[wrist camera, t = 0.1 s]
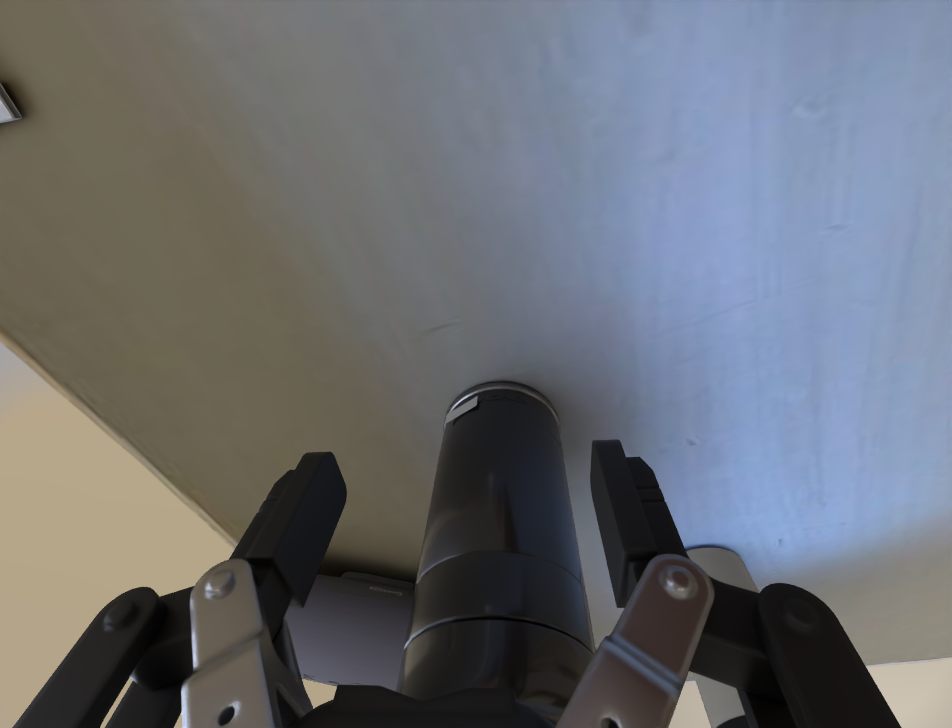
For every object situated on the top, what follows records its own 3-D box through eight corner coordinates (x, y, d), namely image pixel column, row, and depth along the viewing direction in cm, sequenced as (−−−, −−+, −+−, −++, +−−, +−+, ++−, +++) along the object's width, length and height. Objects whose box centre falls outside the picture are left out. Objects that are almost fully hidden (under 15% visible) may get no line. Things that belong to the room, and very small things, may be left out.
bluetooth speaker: (287, 587, 49) (242, 687, 41) (289, 541, 44) (238, 643, 36) (471, 624, 51) (465, 726, 43) (492, 584, 46) (489, 690, 38)
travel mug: (644, 576, 44) (718, 826, 29) (695, 534, 40) (813, 800, 25) (704, 597, 45) (806, 846, 30) (760, 559, 41) (909, 824, 26)
